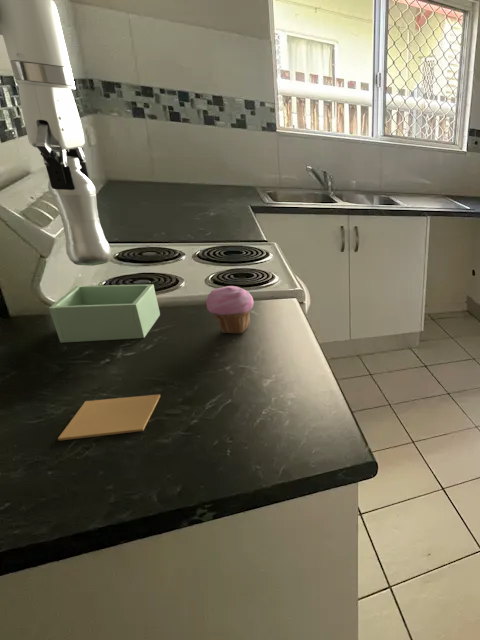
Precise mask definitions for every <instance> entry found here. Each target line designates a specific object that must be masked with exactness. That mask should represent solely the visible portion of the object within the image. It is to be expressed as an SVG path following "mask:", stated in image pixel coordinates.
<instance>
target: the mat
mask: <svg viewBox="0 0 480 640" xmlns="http://www.w3.org/2000/svg"><path fill="white" fill-rule="evenodd" d="M160 398H161V394H160V393H159V394H150V395H149V394H148V395H140V396H128V397H117V398H106V399H94V400H85V401H84V403H83V404H81V406H80V408H79V409H78V411H77V412H76V414H75V415H74V416H73V417H72V419H71V420H70V422H69V423H68V424H67V425H66V427H65V428H64V429H63V430H62V432H61V433H60V435H59V436H58V438H57V441H58V442H59V441H68V440H77V439H78V440H79V439H86V438H95V437H103V436H112V435H120V434H127V433H137V432H144V430H145V429H146V426H147V424H148V422H149V420H150V418H151V416H152V414H153V413H154V411H155V408H156V406H157V404H158V403H159V400H160Z"/></svg>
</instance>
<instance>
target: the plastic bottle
mask: <svg viewBox="0 0 480 640" xmlns="http://www.w3.org/2000/svg"><path fill="white" fill-rule="evenodd" d="M66 158H67V166H70V168H71V172H72V176H73V179H74V183H75V187H76V188H75V189H74V190H60V189H53V188H52V187H51V183H50V179H49V180H48V182H47V183H48V184H47V189H48V191H49V193H50V197H51V198H52V200H53V203H54V205H55V206H56V209H57V211H58V214H59V217H60V220H61V222H62V227H63V232H64V236H65V237H64V239H65V251H66V256H67V257H68V259H69V261H71V262H72V263H73V264H74V265H76V266H88V267H89V266H91V267H92V266H99V265H105V264H107V263H109V262H110V261H111V259H112V258H113V257H112V256H113V253H112V247H111V246H110V243H109V242H108V240H107V239H106V236H105V233H104V230H103V228H102V225H101V221H100V217H99V211H98V200H97V189H96V187H95V184H94V183H93V182H92V181H91V179H90V180H89V179H88V178H87V177H86V176H85V175H84V174H83V173H82V172H80V168H81V165H80V163H79V159H78V157H71V156H66Z"/></svg>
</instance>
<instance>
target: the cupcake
mask: <svg viewBox="0 0 480 640" xmlns="http://www.w3.org/2000/svg"><path fill="white" fill-rule="evenodd" d="M254 302H255V301H254V298H253V296H252V294H250V292H249V291H248V290H245V288H241V287H240V286H235V285H226V286H223V287H218V288H214V289H213V290H212V291H210V292H209V293H208V295H207V297H206V309H207V310H208V311H209V313H211V314H212V315H213V317H214V318H215V320H216V322H217V324H218V327H219V329H220V331H221V332H222V333H225V334H238V335H239V334H243V333H244V332H245V331H246V330H247V328H248V327H249V326H250V321H251V318H250V317H251V316H250V312H251V310H252V309H253V307H254V304H255V303H254Z"/></svg>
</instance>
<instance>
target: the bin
mask: <svg viewBox="0 0 480 640" xmlns="http://www.w3.org/2000/svg"><path fill="white" fill-rule="evenodd" d="M48 310H49V313H50V316H51V319H52V322H53V325H54V328H55V331H56V333H57V337H58V339H59V340H58V341H59V343H62V344H63V343H79V342H96V341H97V342H98V341H110V340H111V341H112V340H116V341H117V340H131V339H132V340H133V339H145V338H146V336H147V335H148V333H149V332H150V330H151V329H152V327H153V326H154V325H155V323H156V322H157V320H158V319H159V317H160V316H161V311H160V308H159V303H158V299H157V295H156V289H155V285H154V283H152V284H151V283H149V284H147V283H146V284H113V285H112V284H108V285H104V284H103V285H76V286H74V287H73V288H72V289H71V290H69V291H68V292H67V293H65V294H64V295H63V296H62V297H61V298H59V299H58V300H56V301H55V302H54V303H53V304H52V305H50V306H49V307H48Z"/></svg>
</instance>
